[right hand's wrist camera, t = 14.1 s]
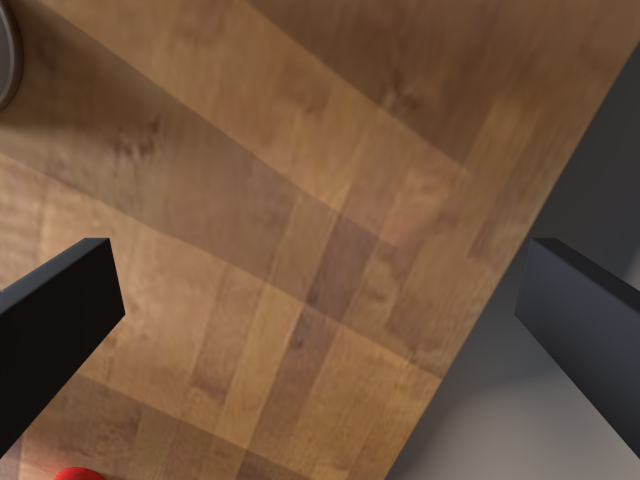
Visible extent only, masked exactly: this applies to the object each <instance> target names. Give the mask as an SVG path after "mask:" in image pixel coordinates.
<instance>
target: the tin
mask: <svg viewBox="0 0 640 480" xmlns="http://www.w3.org/2000/svg"><path fill="white" fill-rule="evenodd" d="M54 480H104V479H103V478H102V477H101V476H100V475H99V474H97V473H95V472H94V471H91V470H88V469H85V468H68V469H65V470H63V471H61V472H60V473H59V474H58V475H57V476H56V478H55V479H54Z"/></svg>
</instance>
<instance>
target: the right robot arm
mask: <svg viewBox="0 0 640 480" xmlns="http://www.w3.org/2000/svg"><path fill="white" fill-rule="evenodd" d="M22 69H23V48H22V42H21V37H20V33H19V29H18V26H17V23H16V21H15V18H14V16H13V13H12V11H11V9H10V7H9V5H8V3H7V2H6V0H0V111H1V110H2V109H3V108H4V107H5V106H6V105H7V104H8V103H9V102H10V101H11V99H12V98H13V96H14V95H15V93H16V91H17V89H18V86H19V83H20V80H21V76H22ZM124 315H125V310H124V305H123V300H122V295H121V291H120V286H119V281H118V276H117V272H116V267H115V262H114V258H113V253H112V248H111V243H110V239H109V238H84V239H82V240H81V241H79V242H78V243H76V244H74V245H73V246H71V247H70V248H68V249H67V250H65V251H63V252H62V253H60V254H59V255H57V256H55V257H54V258H52V259H51V260H49V261H48V262H46V263H44V264H43V265H41V266H40V267H38V268H36V269H35V270H33V271H32V272H30V273H29V274H27V275H25V276H24V277H22V278H21V279H19V280H17V281H16V282H14V283H13V284H11V285H10V286H8V287H6V288H5V289H3V290H2V291H0V459H1V458H2V457H3V455H4V454H5V453H6V452H7V451H8V450H9V448H10V447H11V446H12V445H13V444H14V443H15V442H16V440H17V439H18V438H19V437H20V436H21V435H22V433H23V432H24V431H25V430H26V429H27V428H28V426H29V425H30V424H31V423H32V422H33V421H34V420H35V418H36V417H37V416H38V415H39V414H40V413H41V411H42V410H43V409H44V408H45V407H46V406H47V404H48V403H49V402H50V401H51V400H52V399H53V398H54V396H55V395H56V394H57V393H58V392H59V391H60V389H61V388H62V387H63V386H64V385H65V384H66V383H67V381H68V380H69V379H70V378H71V377H72V376H73V374H74V373H75V372H76V371H77V370H78V369H79V367H80V366H81V365H82V364H83V363H84V362H85V361H86V359H87V358H88V357H89V356H90V355H91V354H92V352H93V351H94V350H95V349H96V348H97V347H98V345H99V344H100V343H101V342H102V341H103V340H104V339H105V337H106V336H107V335H108V334H109V333H110V332H111V330H112V329H113V328H114V327H115V326H116V325H117V323H118V322H119V321H120V320H121V319H122V318H123V317H124ZM515 315H516V317H517V318H518V319H519V320H520V321H521V322H522V323H523V325H524V326H525V327H526V328H527V329H528V330H529V332H530V333H531V334H532V335H533V336H534V337H535V338H536V340H537V341H538V342H539V343H540V344H541V345H542V347H543V348H544V349H545V350H546V351H547V352H548V354H549V355H550V356H551V357H552V358H553V359H554V360H555V362H556V363H557V364H558V365H559V366H560V367H561V369H562V370H563V371H564V372H565V373H566V374H567V376H568V377H569V378H570V379H571V380H572V381H573V382H574V384H575V385H576V386H577V387H578V388H579V389H580V391H581V392H582V393H583V394H584V395H585V396H586V398H587V399H588V400H589V401H590V402H591V403H592V404H593V406H594V407H595V408H596V409H597V410H598V411H599V413H600V414H601V415H602V416H603V417H604V418H605V420H606V421H607V422H608V423H609V424H610V425H611V426H612V428H613V429H614V430H615V431H616V432H617V433H618V435H619V436H620V437H621V438H622V439H623V440H624V442H625V443H626V444H627V445H628V446H629V447H630V448H631V450H632V451H633V452H634V453H635V454H636V455H637V456H638V458H639V459H640V291H638V290H637V289H635V288H634V287H632V286H630V285H629V284H627V283H626V282H624V281H622V280H621V279H619V278H618V277H616V276H615V275H613V274H611V273H610V272H608V271H607V270H605V269H604V268H602V267H600V266H599V265H597V264H596V263H594V262H592V261H591V260H589V259H588V258H586V257H585V256H583V255H581V254H580V253H578V252H577V251H575V250H573V249H572V248H570V247H569V246H567V245H566V244H564V243H562V242H561V241H559V240H558V239H556V238H531V239H530V243H529V248H528V253H527V258H526V262H525V267H524V272H523V276H522V281H521V286H520V291H519V295H518V300H517V305H516V310H515Z"/></svg>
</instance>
